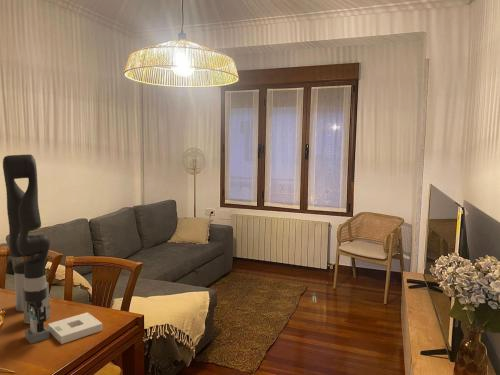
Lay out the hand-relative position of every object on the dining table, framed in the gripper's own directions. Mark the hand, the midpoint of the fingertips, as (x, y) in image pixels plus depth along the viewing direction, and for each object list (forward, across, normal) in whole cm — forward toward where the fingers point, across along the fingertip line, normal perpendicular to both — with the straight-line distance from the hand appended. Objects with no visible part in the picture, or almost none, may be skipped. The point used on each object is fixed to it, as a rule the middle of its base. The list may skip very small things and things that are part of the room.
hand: (36, 327), depth 151 cm
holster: (+4, 0, 0) cm, 4 cm away
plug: (+4, 0, 0) cm, 4 cm away
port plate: (+4, +4, +13) cm, 14 cm away
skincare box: (+4, -16, +5) cm, 17 cm away
